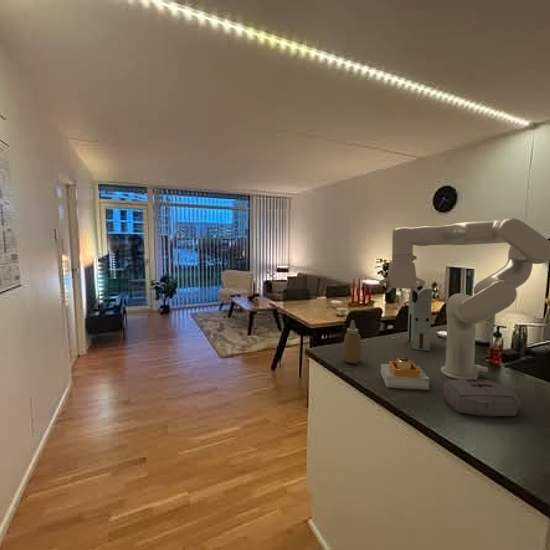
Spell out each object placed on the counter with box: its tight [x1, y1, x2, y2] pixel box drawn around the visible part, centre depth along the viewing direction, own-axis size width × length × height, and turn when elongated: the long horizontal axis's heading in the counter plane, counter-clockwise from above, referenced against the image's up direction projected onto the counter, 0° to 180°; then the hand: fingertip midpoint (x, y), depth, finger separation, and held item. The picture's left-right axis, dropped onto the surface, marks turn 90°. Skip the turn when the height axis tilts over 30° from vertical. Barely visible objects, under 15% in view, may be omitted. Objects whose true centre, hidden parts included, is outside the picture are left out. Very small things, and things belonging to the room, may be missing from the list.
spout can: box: [396, 356, 412, 370], centre depth 115 cm, size 6×5×9 cm
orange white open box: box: [380, 360, 430, 391], centre depth 114 cm, size 14×12×6 cm
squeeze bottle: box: [342, 320, 363, 364], centre depth 134 cm, size 8×8×18 cm
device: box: [407, 284, 433, 352], centre depth 155 cm, size 16×8×30 cm, turn 164°
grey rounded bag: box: [442, 378, 522, 418], centre depth 96 cm, size 15×8×20 cm
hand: (401, 302), depth 122 cm, fingers open, 9 cm apart
